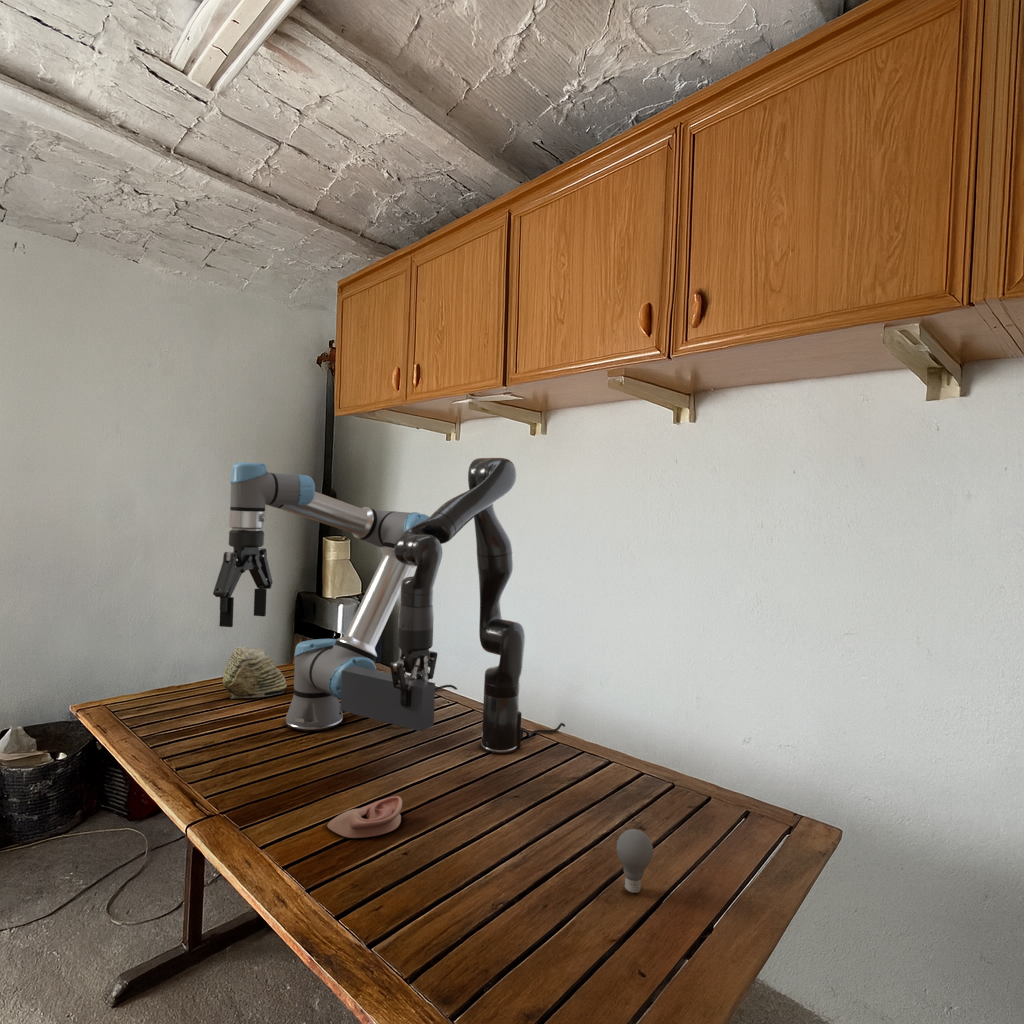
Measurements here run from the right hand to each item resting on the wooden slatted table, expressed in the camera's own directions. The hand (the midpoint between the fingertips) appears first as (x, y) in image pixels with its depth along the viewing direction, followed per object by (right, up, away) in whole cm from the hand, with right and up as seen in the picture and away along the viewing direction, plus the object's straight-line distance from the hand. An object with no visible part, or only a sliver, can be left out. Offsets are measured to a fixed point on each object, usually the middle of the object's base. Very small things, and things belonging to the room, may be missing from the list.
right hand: (413, 703), depth 137 cm
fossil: (-59, -16, +61) cm, 86 cm away
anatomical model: (-7, -19, -14) cm, 25 cm away
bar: (-7, -4, +4) cm, 9 cm away
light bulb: (+42, -22, -32) cm, 57 cm away
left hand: (-41, +16, +9) cm, 45 cm away
